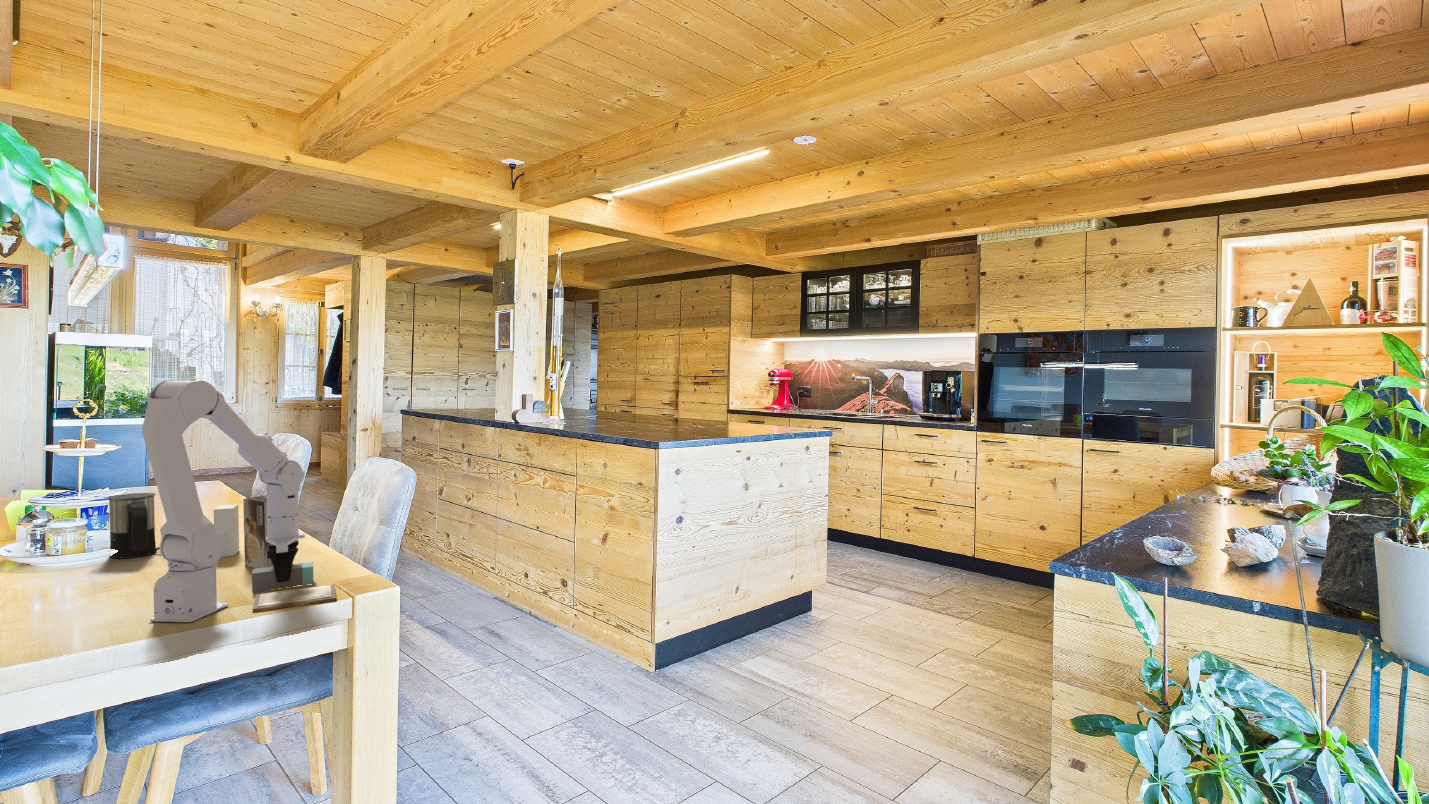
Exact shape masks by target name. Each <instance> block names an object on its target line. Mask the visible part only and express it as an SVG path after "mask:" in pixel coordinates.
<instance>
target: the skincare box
mask: <svg viewBox="0 0 1429 804" xmlns="http://www.w3.org/2000/svg"><path fill="white" fill-rule="evenodd" d="M239 522H240V521H239V504H237V503H233V504H219V505H218V506H216V507H215V508H214V509H213V525H214V527H215V531H216V532H217V534H218V535H219V536H221V537H222V539H223V541H224V545H225V548H224V552H223V555H222V556H221V558H223V557H225V556H226V557H235V555H236V554H237V553H238V552H239V551H240V529H239V528H240V526H239Z"/></svg>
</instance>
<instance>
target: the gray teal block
mask: <svg viewBox="0 0 1429 804" xmlns="http://www.w3.org/2000/svg"><path fill="white" fill-rule="evenodd" d="M307 584H313V585H314V561H310V562H300V563H293V564H292V569H291V575H290V579H289V581H286V582H277V579H276V576H275V571H274V567H264V568H253V569H252V571H251V593H252V592H253V593H260V591H261V592H267V590H269V591H272V590H271V589H277V590H279V589H278V588H285V589H287V588H286V587H293V586H297V585H307ZM293 588H294V587H293Z"/></svg>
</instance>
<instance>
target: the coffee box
mask: <svg viewBox="0 0 1429 804" xmlns="http://www.w3.org/2000/svg"><path fill="white" fill-rule="evenodd" d="M242 501H243V502H242V503H243V505H242V506H243V537H244V545H243V546H244V566H245V567H248V568H253V569H255V568H264V567H273V564H272V561H271V560H270V558H269V556H268V555H267V549H269V547H268V545H269V544H270V543H268V542H266V537H267V496H266V495H259V496H252V497H247V498H243V499H242Z"/></svg>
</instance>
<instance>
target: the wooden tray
mask: <svg viewBox="0 0 1429 804" xmlns="http://www.w3.org/2000/svg"><path fill="white" fill-rule="evenodd" d="M336 594H337V592H336V585H335V584H329V585H319V586H313V587H311V586H310V587H304V588H296V589H290V590H289V589H288V590H281V591H273V592H272V591H271V592H265V593H257V594H255V597H254V602H253V606H252V613H256V612H264V611H270V609H272V610H278V608H280V609H285V607H287V608H293V607H292V606H294V607H298V606H297V605H302V604H309V603H316V604H320V603H319V602H323V603H327V602H326V601H331V602H335V600H336V601H337V595H336ZM309 605H310V604H309ZM302 606H303V605H302Z"/></svg>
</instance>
